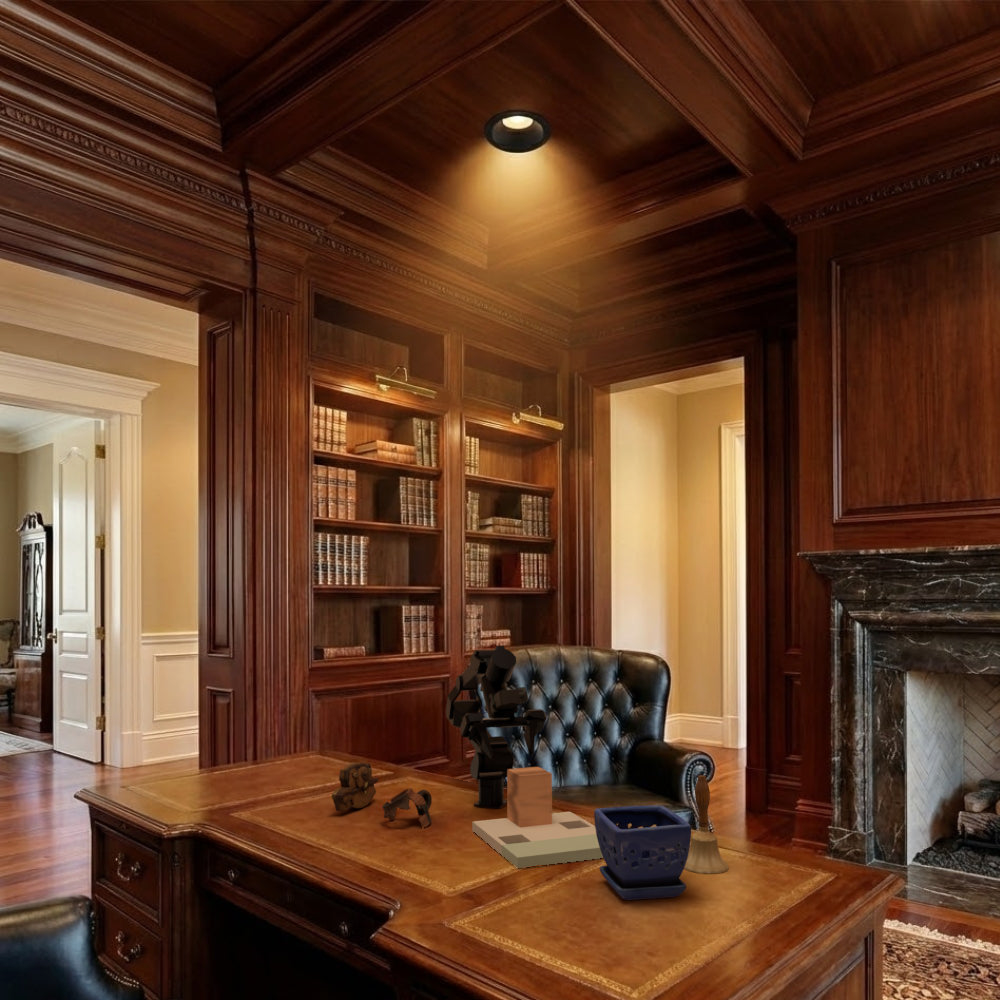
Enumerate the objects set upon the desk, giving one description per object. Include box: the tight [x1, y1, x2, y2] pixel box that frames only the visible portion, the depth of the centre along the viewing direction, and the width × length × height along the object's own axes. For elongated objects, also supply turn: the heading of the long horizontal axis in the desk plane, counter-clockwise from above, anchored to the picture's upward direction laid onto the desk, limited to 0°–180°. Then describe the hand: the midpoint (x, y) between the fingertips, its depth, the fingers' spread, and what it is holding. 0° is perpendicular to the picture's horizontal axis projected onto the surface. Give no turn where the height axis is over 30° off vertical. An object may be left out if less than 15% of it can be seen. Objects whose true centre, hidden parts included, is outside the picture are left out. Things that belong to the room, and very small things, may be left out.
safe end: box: [501, 834, 604, 869], centre depth 161 cm, size 8×22×2 cm, turn 111°
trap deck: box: [471, 811, 596, 856], centre depth 172 cm, size 17×22×2 cm
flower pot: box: [593, 804, 692, 901], centre depth 144 cm, size 13×13×12 cm
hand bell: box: [684, 774, 729, 875], centre depth 155 cm, size 8×8×16 cm
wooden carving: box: [331, 761, 379, 812], centre depth 195 cm, size 16×5×10 cm, turn 162°
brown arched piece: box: [382, 787, 433, 828], centre depth 184 cm, size 12×10×8 cm
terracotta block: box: [506, 766, 553, 827], centre depth 177 cm, size 7×7×10 cm
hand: (512, 756), depth 186 cm, fingers open, 9 cm apart
